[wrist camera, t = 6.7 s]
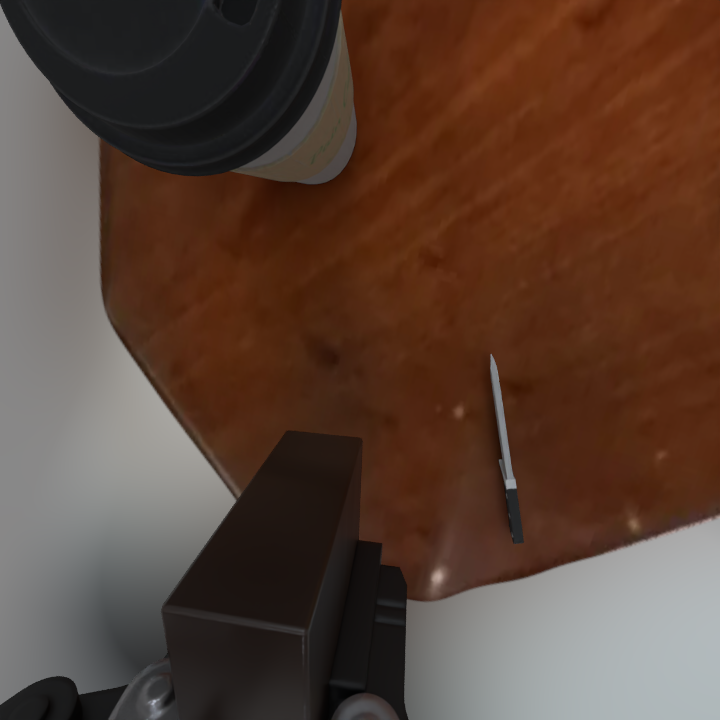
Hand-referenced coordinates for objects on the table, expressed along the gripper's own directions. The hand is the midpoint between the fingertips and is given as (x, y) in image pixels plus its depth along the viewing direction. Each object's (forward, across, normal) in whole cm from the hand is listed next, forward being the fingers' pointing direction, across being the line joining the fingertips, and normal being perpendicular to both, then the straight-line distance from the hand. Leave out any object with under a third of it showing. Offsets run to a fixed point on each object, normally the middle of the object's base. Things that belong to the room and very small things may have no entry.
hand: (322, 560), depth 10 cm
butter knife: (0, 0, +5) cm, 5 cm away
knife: (+17, -9, +5) cm, 20 cm away
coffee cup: (+17, +5, -15) cm, 23 cm away
